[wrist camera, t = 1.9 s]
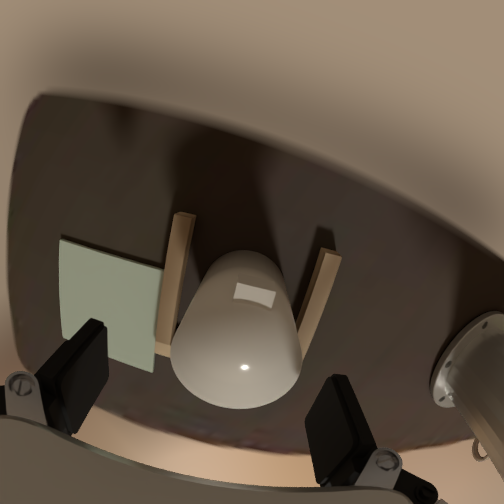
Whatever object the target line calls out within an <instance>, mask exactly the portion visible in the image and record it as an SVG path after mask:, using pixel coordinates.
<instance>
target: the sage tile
mask: <svg viewBox="0 0 504 504" xmlns="http://www.w3.org/2000/svg"><path fill="white" fill-rule="evenodd" d="M163 276H164V269H161V268H158V267H154V266H151V265H147V264H144V263H140V262H137V261H133V260H130V259H126V258H123V257H120V256H116V255H113V254H110V253H106V252H103V251H100V250H97V249H93V248H90V247H87V246H84V245H80V244H77V243H74V242H71V241H68V240H65V239H60V246H59V294H60V312H61V325H62V335H63V337H64V338H66V339H68V340H70V339H71V337H72V336H73V335H74V334H75V333H76V332H77V331H78V330H79V329H80V328H81V327H82V326H83V325H84V324H85V323H86V322H87V321H88V320H89V319H90V318H94V319H96V320H99V321H102V322H104V326H106V327H107V330H108V357H110V358H113V359H115V360H118V361H120V362H123V363H126V364H129V365H131V366H134V367H137V368H140V369H143V370H146V371H149V372H152V373H153V371H154V363H155V353H154V351H155V340H156V330H157V321H158V313H159V305H160V297H161V290H162V283H163Z"/></svg>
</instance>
